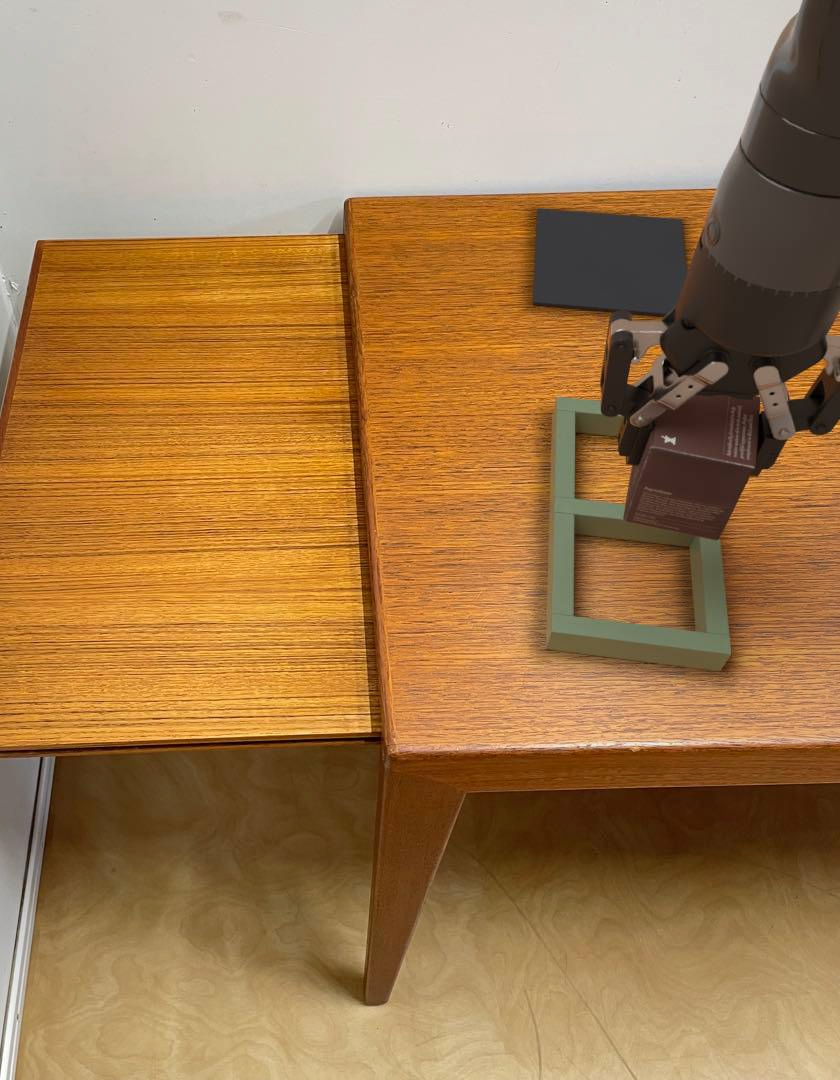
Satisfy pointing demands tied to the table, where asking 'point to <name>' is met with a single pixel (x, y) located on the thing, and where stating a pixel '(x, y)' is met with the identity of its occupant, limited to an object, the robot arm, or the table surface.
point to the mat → (608, 262)
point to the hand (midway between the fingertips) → (689, 459)
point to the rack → (606, 520)
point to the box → (695, 466)
